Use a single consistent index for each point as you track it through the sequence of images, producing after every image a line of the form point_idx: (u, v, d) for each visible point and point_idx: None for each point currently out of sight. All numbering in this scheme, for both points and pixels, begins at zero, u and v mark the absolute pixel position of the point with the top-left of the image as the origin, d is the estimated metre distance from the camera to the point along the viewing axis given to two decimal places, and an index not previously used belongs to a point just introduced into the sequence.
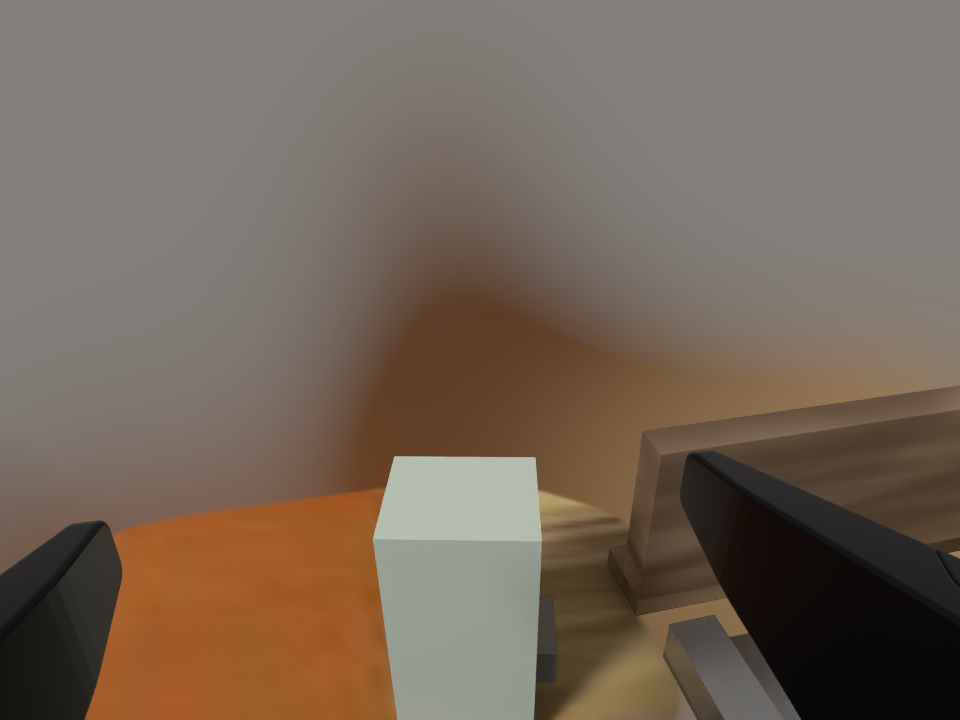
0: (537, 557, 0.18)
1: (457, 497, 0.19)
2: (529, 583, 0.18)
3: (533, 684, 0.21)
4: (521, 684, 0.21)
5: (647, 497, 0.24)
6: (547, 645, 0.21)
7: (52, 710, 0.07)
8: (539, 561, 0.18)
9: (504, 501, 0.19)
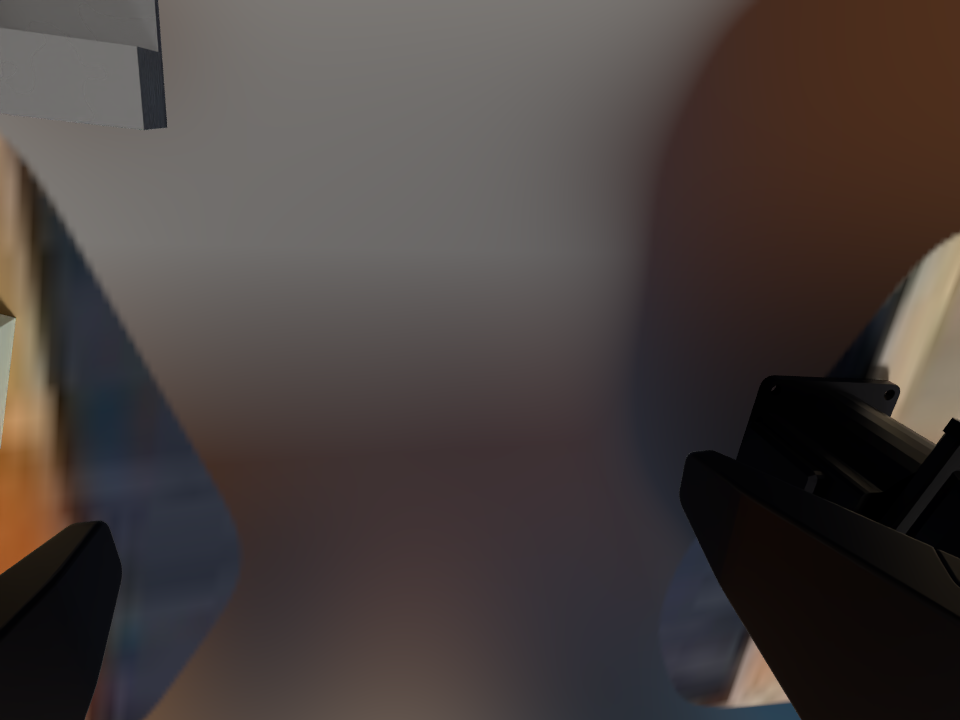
0: None
1: None
2: None
3: None
4: None
5: None
6: None
7: (52, 710, 0.07)
8: None
9: None
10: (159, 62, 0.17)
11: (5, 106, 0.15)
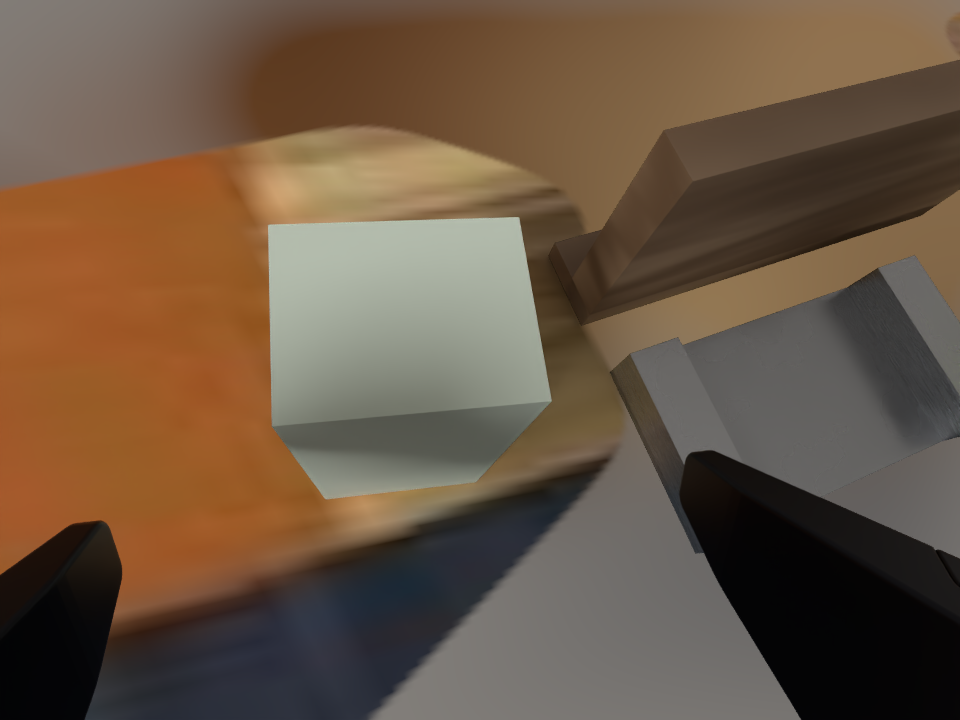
0: (538, 411, 0.12)
1: (402, 318, 0.11)
2: (515, 425, 0.13)
3: (489, 465, 0.17)
4: (475, 467, 0.17)
5: (642, 221, 0.17)
6: None
7: (52, 710, 0.07)
8: (538, 412, 0.12)
9: (482, 320, 0.11)
10: None
11: (684, 453, 0.20)
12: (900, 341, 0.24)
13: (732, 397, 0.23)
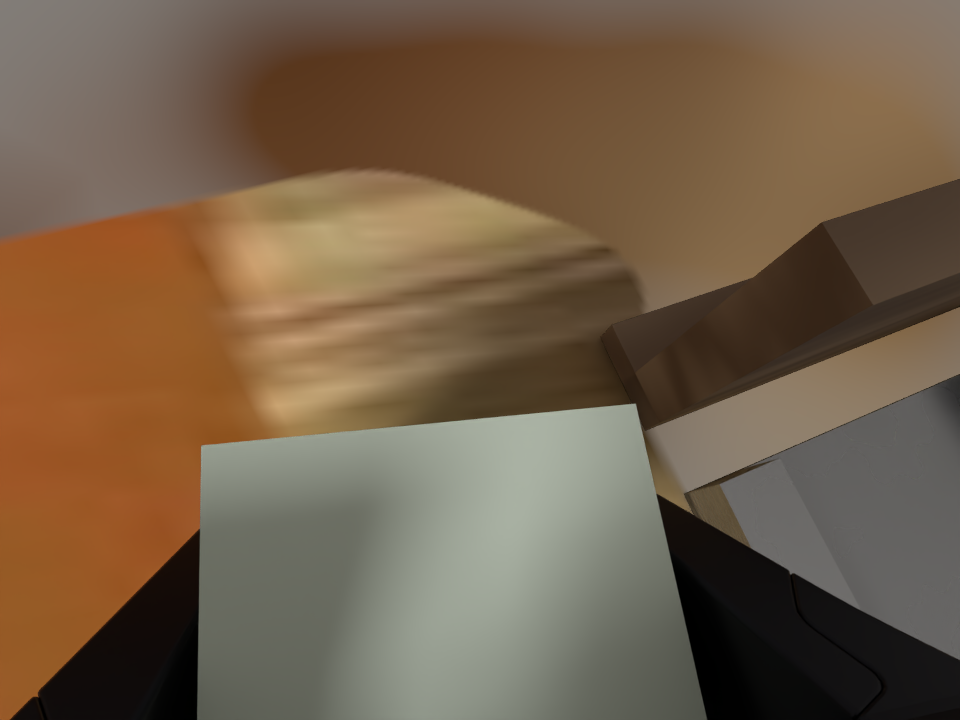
0: None
1: (445, 626, 0.06)
2: None
3: None
4: None
5: (764, 336, 0.12)
6: None
7: None
8: None
9: (586, 618, 0.06)
10: None
11: None
12: None
13: (841, 524, 0.18)
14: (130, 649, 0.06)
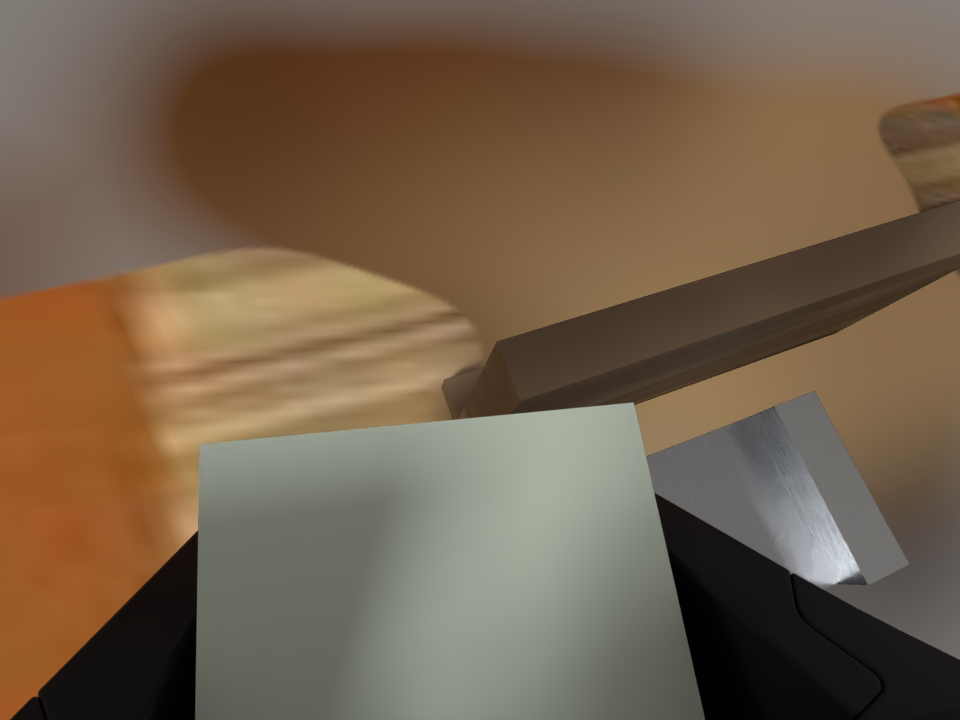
0: None
1: (442, 624, 0.06)
2: None
3: None
4: None
5: (494, 408, 0.17)
6: None
7: None
8: None
9: (584, 616, 0.06)
10: None
11: None
12: (796, 481, 0.23)
13: None
14: (130, 649, 0.06)
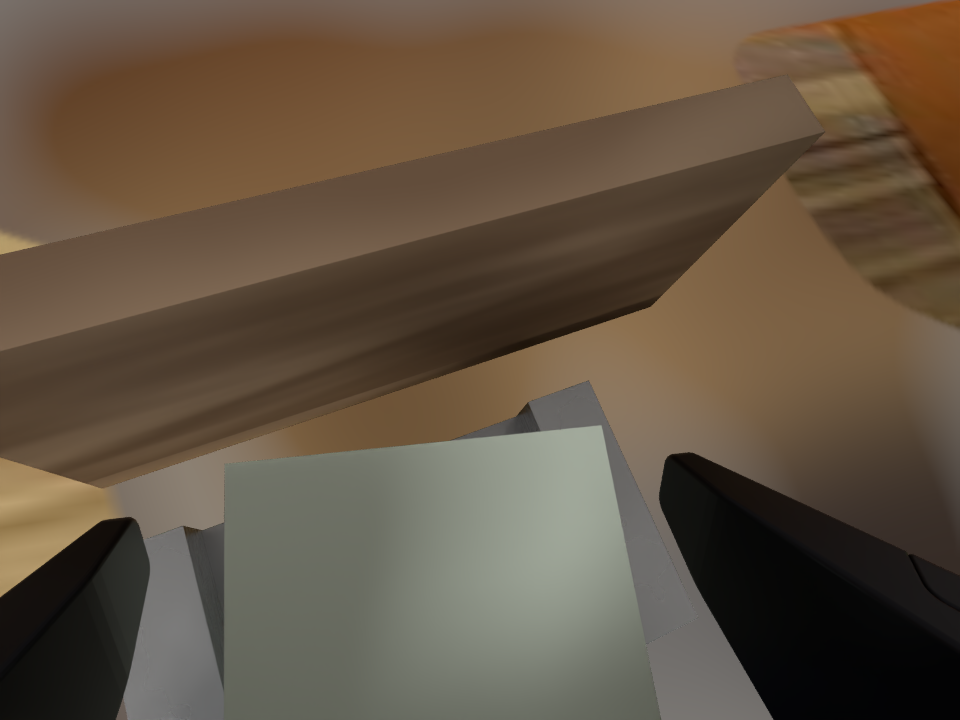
0: None
1: (432, 618, 0.07)
2: None
3: None
4: None
5: None
6: None
7: (88, 704, 0.07)
8: None
9: (554, 612, 0.07)
10: None
11: None
12: None
13: None
14: None
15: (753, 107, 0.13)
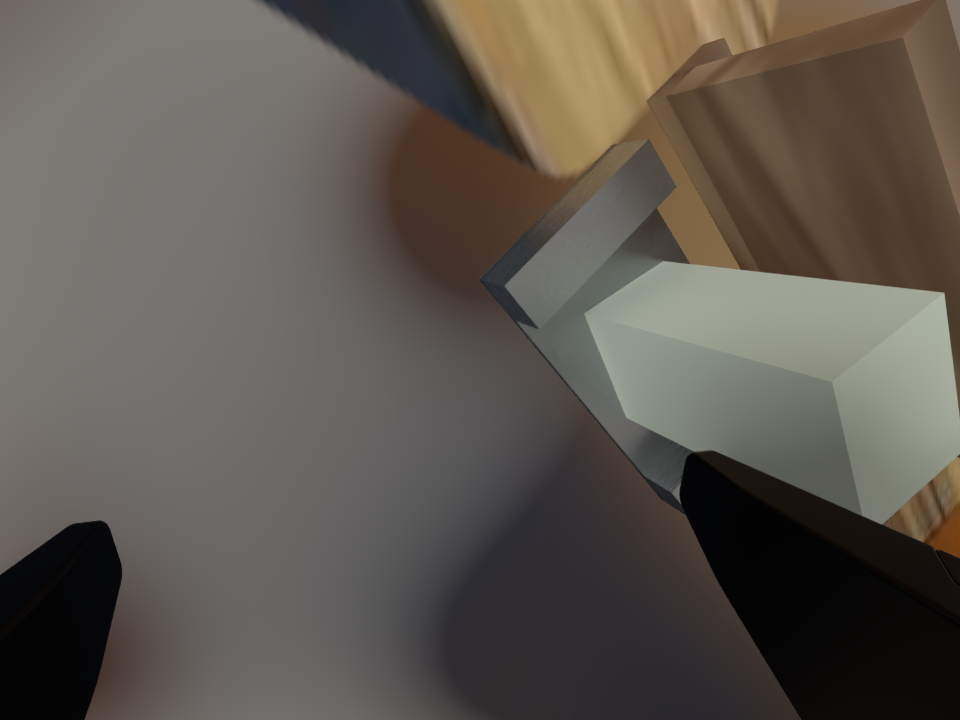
0: None
1: (900, 419, 0.15)
2: None
3: (682, 444, 0.21)
4: (679, 435, 0.21)
5: (816, 49, 0.16)
6: None
7: (52, 710, 0.07)
8: None
9: (904, 467, 0.15)
10: (511, 315, 0.21)
11: (575, 221, 0.19)
12: None
13: (627, 275, 0.23)
14: None
15: None
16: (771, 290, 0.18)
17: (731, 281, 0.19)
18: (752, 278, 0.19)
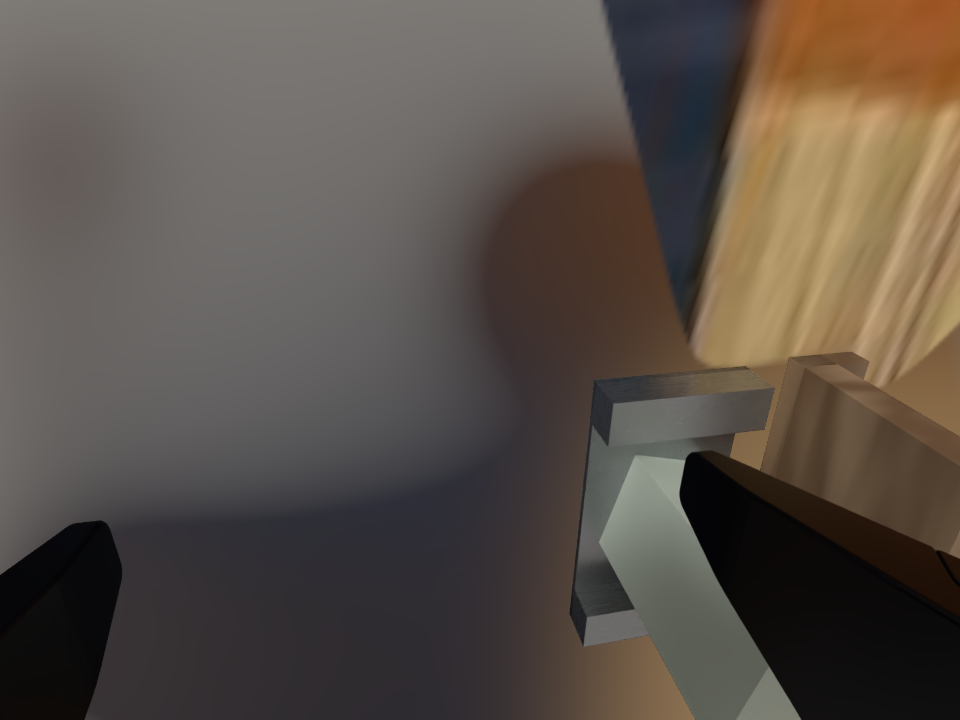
0: None
1: None
2: (690, 698, 0.21)
3: (628, 594, 0.25)
4: (631, 587, 0.25)
5: (925, 435, 0.21)
6: None
7: (52, 710, 0.07)
8: None
9: None
10: (592, 419, 0.25)
11: (689, 400, 0.24)
12: None
13: (681, 453, 0.27)
14: None
15: None
16: None
17: None
18: None
